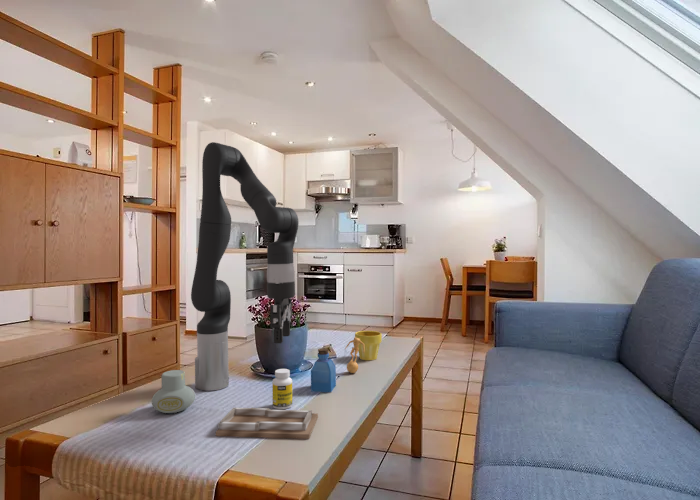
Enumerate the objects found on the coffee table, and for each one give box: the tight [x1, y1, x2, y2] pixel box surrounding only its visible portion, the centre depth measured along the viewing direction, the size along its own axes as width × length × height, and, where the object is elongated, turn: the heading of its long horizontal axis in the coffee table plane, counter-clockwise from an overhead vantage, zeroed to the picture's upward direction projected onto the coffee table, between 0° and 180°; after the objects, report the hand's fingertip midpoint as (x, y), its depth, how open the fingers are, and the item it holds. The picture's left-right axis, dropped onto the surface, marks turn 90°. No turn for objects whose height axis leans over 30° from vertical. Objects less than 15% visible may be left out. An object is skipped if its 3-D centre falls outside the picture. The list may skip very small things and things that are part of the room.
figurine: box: [344, 336, 365, 374], centre depth 148 cm, size 8×6×12 cm
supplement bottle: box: [271, 368, 293, 410], centre depth 117 cm, size 5×5×10 cm
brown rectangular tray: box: [215, 407, 319, 440], centre depth 104 cm, size 22×12×2 cm, turn 85°
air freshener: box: [150, 369, 196, 414], centre depth 116 cm, size 11×8×10 cm
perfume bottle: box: [310, 347, 337, 393], centre depth 131 cm, size 6×6×12 cm
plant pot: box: [354, 330, 383, 362], centre depth 165 cm, size 10×10×10 cm
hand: (282, 339), depth 117 cm, fingers open, 8 cm apart
